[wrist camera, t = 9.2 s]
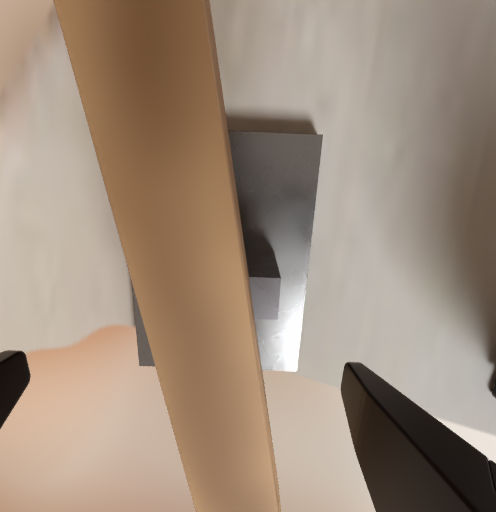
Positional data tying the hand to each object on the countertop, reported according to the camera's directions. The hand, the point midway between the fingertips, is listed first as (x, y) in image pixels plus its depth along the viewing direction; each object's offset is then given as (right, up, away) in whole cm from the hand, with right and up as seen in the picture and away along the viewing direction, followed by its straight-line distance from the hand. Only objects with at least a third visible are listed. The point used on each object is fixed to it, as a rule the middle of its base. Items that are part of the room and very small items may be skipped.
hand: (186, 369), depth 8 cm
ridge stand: (0, +3, +9) cm, 10 cm away
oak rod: (0, +1, +4) cm, 5 cm away
